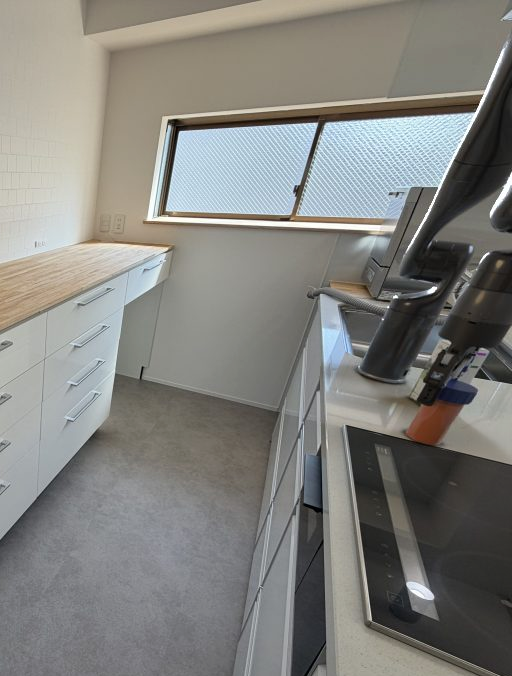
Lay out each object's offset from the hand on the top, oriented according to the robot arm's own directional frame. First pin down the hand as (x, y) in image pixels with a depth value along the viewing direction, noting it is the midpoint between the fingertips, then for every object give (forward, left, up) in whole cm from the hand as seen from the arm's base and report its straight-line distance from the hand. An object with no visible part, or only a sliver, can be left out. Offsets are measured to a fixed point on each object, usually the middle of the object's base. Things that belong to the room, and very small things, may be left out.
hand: (431, 398), depth 77 cm
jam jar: (0, +2, -8) cm, 8 cm away
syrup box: (-19, +10, -8) cm, 23 cm away
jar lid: (0, +2, +3) cm, 4 cm away
